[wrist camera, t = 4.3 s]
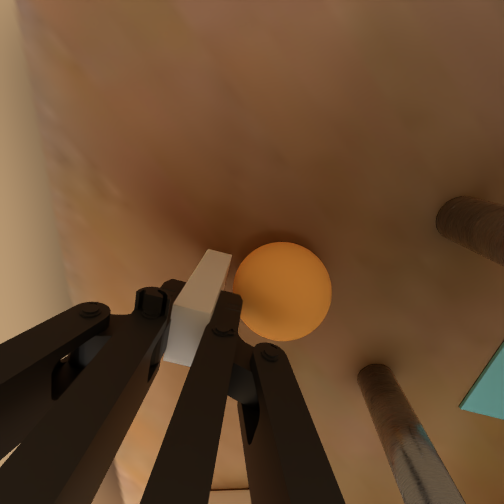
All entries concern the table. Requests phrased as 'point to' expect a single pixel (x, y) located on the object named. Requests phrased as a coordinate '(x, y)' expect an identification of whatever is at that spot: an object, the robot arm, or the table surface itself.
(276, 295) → the ball
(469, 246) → the post
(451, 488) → the post
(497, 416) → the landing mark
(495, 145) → the table surface
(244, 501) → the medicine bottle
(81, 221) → the table surface
